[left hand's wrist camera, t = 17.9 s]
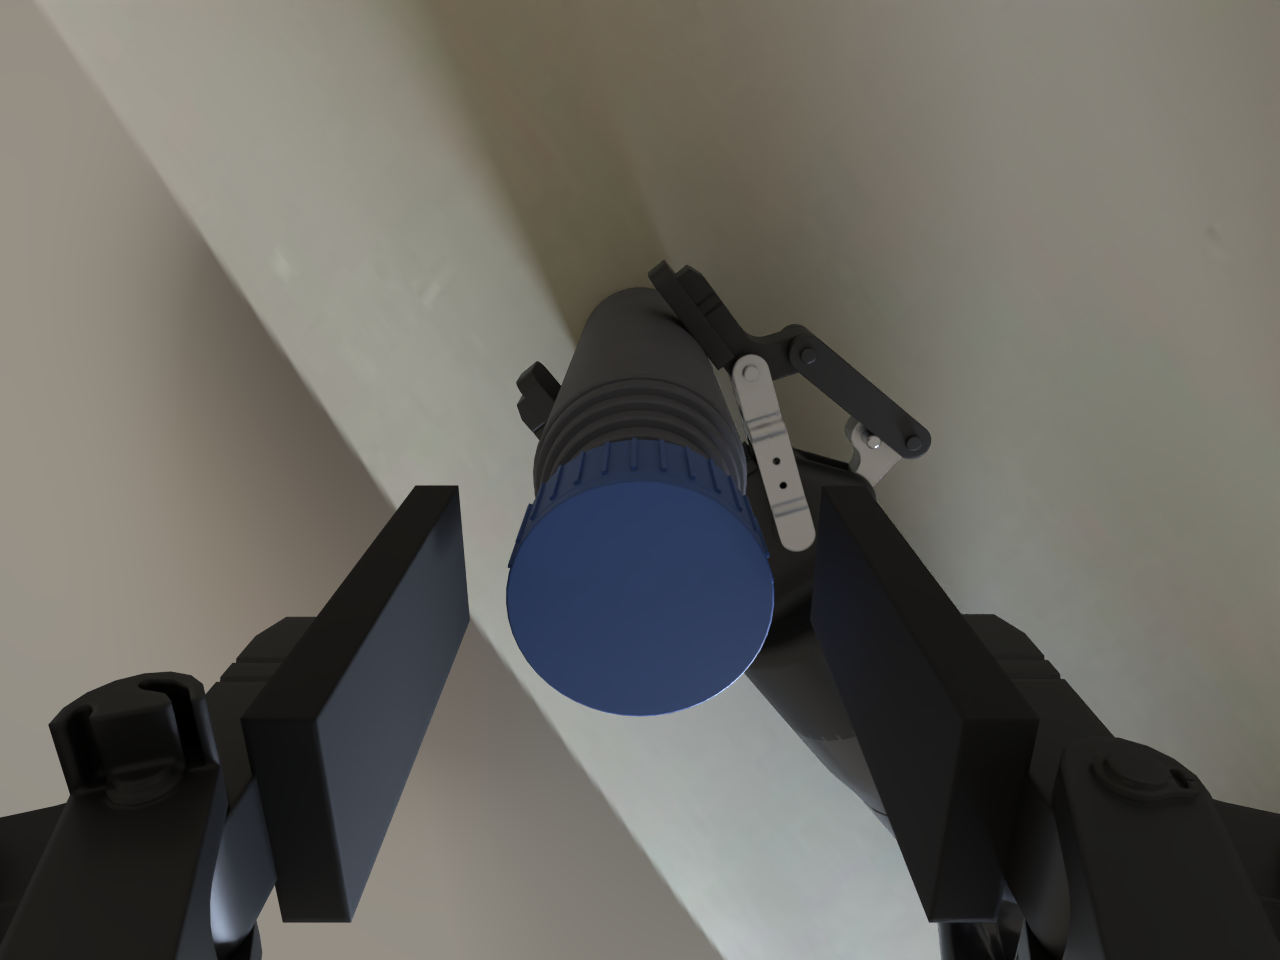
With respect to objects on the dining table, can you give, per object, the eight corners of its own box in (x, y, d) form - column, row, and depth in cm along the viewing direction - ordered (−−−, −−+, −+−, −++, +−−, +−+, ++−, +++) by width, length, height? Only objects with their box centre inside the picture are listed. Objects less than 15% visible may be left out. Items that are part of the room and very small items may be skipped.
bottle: (700, 400, 34) (786, 699, 14) (586, 407, 34) (513, 713, 14) (696, 283, 32) (785, 436, 12) (576, 291, 32) (475, 455, 12)
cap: (525, 652, 15) (508, 719, 13) (515, 434, 14) (494, 474, 12) (752, 654, 15) (769, 721, 13) (767, 435, 14) (787, 477, 12)
